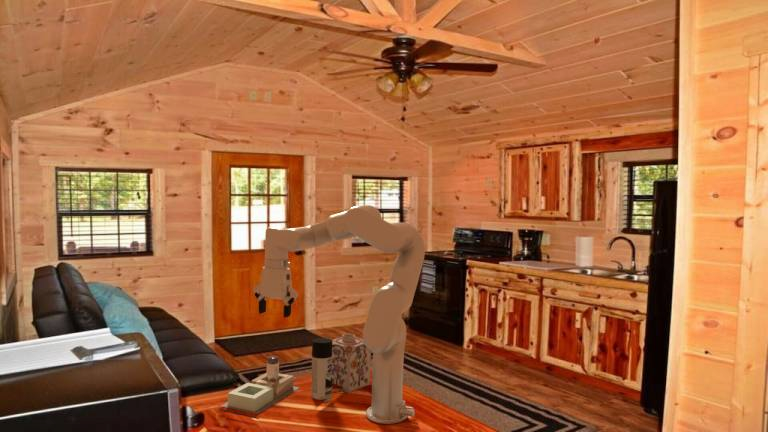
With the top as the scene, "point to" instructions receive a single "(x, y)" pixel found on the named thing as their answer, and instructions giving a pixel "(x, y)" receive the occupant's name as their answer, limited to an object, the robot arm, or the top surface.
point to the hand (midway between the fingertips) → (274, 314)
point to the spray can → (322, 369)
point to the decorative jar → (350, 363)
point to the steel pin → (273, 369)
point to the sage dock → (250, 396)
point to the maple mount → (276, 383)
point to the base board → (263, 406)
